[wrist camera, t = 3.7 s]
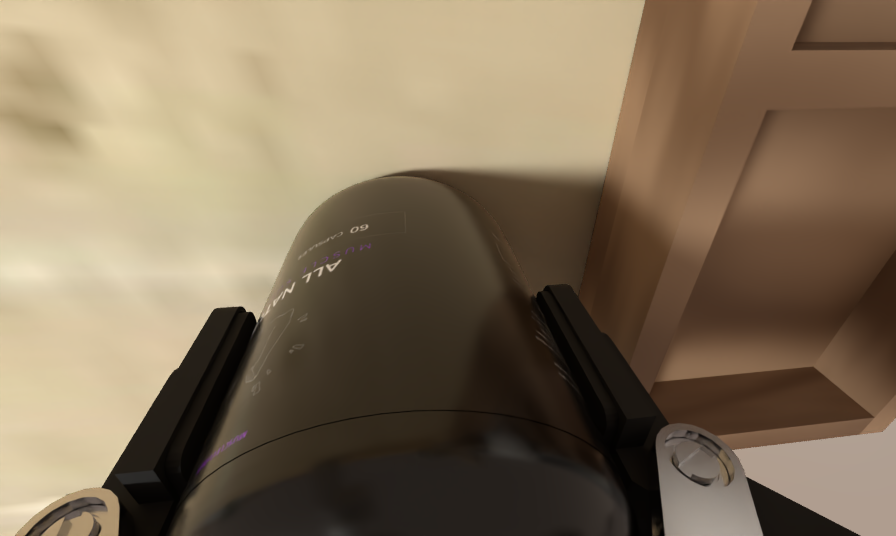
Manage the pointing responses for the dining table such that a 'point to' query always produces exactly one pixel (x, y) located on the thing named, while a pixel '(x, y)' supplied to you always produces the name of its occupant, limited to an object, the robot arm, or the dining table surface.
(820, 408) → the caddy
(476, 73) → the dining table surface
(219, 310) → the robot arm
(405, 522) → the supplement bottle
